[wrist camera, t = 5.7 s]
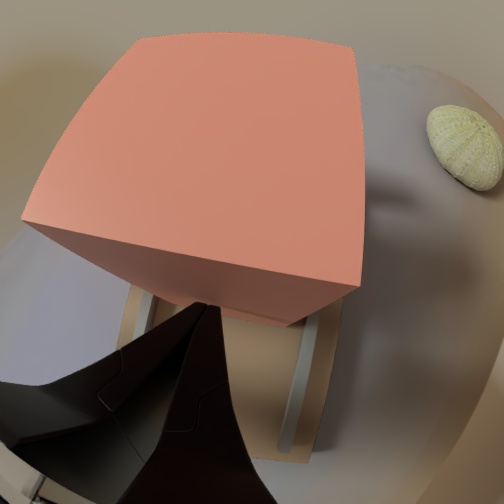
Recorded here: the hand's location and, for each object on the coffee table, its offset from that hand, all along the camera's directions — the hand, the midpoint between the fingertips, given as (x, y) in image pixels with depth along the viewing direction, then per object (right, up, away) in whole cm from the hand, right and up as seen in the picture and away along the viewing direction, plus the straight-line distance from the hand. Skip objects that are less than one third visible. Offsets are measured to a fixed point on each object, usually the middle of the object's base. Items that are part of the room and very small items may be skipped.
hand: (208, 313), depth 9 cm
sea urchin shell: (+21, +11, +11) cm, 27 cm away
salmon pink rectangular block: (+1, +1, +6) cm, 6 cm away
